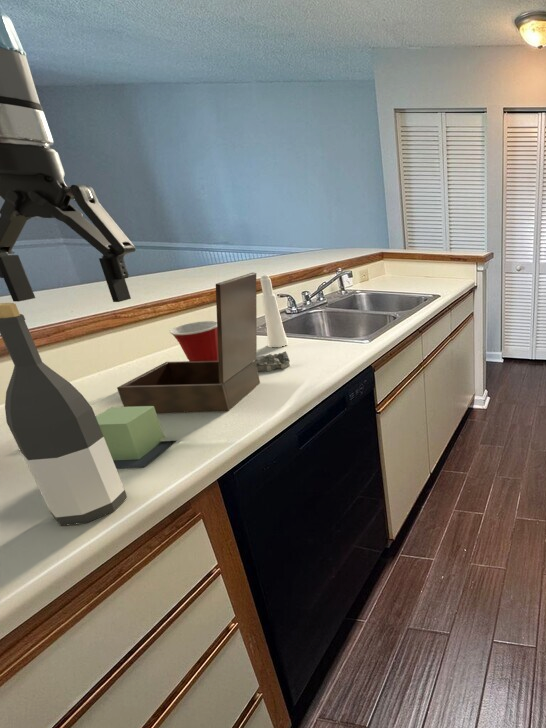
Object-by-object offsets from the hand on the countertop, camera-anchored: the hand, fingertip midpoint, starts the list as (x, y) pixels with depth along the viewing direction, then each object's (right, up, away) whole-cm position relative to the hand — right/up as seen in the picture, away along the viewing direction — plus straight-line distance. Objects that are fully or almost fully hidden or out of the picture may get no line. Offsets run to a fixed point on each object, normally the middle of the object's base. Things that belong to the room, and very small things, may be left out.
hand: (74, 300), depth 65 cm
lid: (+9, 0, +25) cm, 27 cm away
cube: (0, -25, +10) cm, 27 cm away
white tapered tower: (-7, -1, +70) cm, 70 cm away
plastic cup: (-16, -9, +50) cm, 53 cm away
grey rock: (+2, -9, +50) cm, 51 cm away
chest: (-3, -17, +31) cm, 35 cm away
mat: (0, -25, +10) cm, 27 cm away
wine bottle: (+6, -31, -4) cm, 32 cm away
